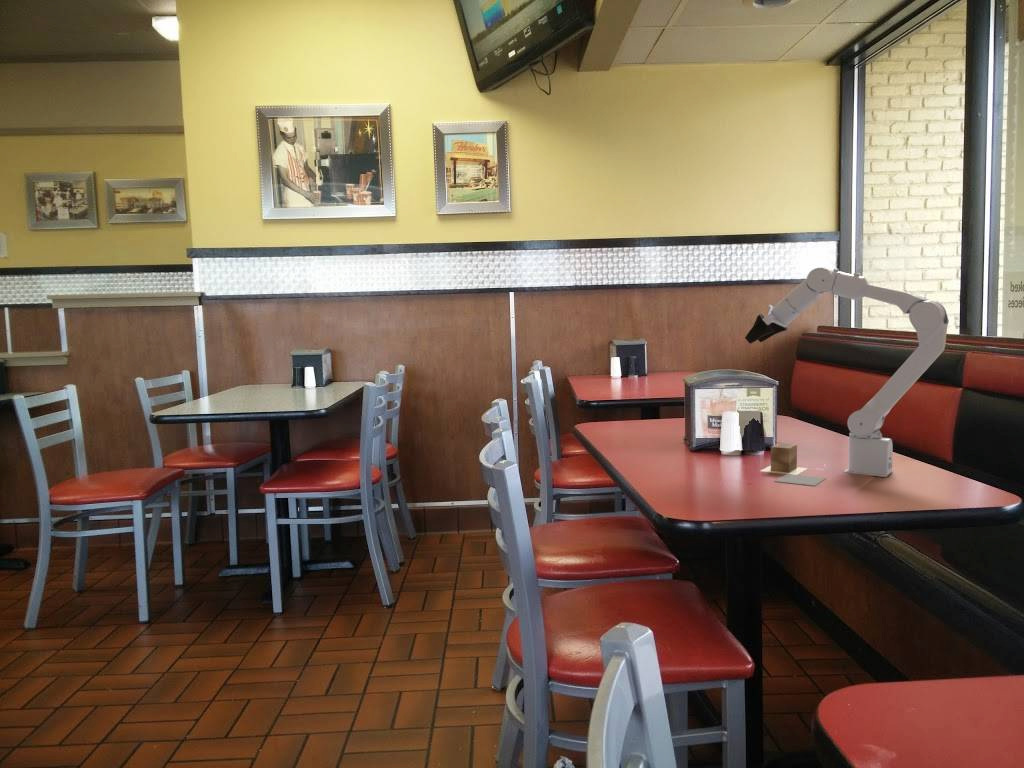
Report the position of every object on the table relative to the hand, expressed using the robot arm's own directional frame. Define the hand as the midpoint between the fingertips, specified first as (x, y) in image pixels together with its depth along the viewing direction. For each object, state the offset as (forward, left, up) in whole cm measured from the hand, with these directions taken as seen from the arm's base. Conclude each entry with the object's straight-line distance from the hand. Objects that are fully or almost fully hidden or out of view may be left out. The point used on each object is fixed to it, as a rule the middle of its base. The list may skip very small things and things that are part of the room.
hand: (753, 340), depth 201 cm
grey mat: (-18, +18, -32) cm, 41 cm away
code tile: (-11, +8, -32) cm, 35 cm away
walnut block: (-11, +8, -32) cm, 35 cm away
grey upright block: (+6, -14, -32) cm, 36 cm away
